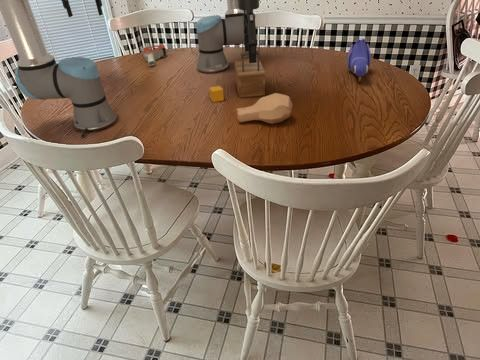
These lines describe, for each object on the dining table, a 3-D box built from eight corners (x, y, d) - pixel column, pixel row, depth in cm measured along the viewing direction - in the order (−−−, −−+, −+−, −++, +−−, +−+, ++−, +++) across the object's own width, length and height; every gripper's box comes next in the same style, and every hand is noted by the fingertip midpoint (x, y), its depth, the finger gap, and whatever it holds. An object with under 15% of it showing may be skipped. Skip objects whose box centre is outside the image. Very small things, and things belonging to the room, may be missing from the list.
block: (224, 100, 144) (223, 89, 141) (213, 102, 143) (212, 91, 140) (221, 96, 147) (220, 85, 145) (210, 98, 146) (209, 87, 144)
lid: (265, 73, 140) (264, 51, 135) (238, 76, 139) (236, 53, 134) (258, 60, 154) (258, 39, 149) (234, 62, 153) (232, 41, 148)
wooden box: (265, 95, 146) (264, 73, 140) (239, 97, 145) (238, 76, 140) (259, 80, 159) (258, 60, 154) (235, 82, 159) (234, 62, 153)
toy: (345, 75, 169) (348, 84, 147) (347, 38, 162) (351, 41, 140) (367, 75, 167) (373, 84, 145) (370, 36, 160) (377, 40, 138)
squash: (296, 124, 124) (294, 103, 117) (239, 134, 126) (235, 113, 119) (291, 106, 131) (289, 85, 125) (238, 116, 133) (233, 96, 127)
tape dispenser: (152, 70, 182) (177, 56, 195) (150, 60, 179) (175, 46, 191) (127, 64, 190) (153, 51, 202) (125, 54, 186) (151, 41, 199)
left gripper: (102, -44, 147) (116, 12, 160) (44, -40, 148) (61, 15, 160) (96, -42, 141) (111, 15, 153) (35, -38, 142) (54, 19, 154)
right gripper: (264, 1, 115) (265, 66, 127) (254, -10, 135) (255, 47, 148) (241, 3, 115) (244, 68, 127) (234, -9, 135) (237, 49, 147)
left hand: (85, 15), depth 157 cm, fingers open, 13 cm apart
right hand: (250, 57), depth 137 cm, fingers open, 13 cm apart
